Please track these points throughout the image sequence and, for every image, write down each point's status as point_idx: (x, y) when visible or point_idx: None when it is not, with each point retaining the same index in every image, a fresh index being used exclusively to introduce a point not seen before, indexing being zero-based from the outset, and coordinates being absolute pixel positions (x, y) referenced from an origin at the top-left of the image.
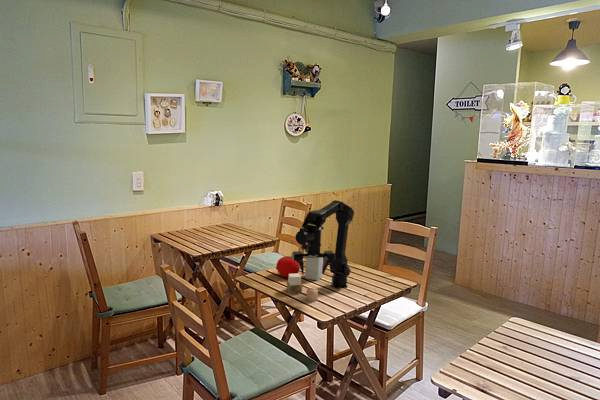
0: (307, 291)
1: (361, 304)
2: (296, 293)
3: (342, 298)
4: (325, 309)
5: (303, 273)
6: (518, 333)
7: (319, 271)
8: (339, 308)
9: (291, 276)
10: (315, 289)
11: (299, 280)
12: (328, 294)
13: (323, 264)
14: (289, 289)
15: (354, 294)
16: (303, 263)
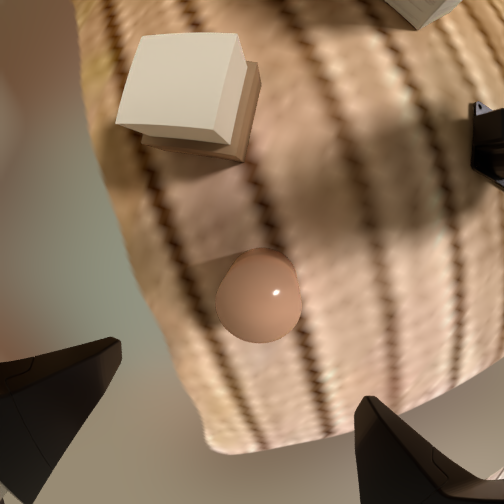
0: (216, 306)
1: (438, 387)
2: (209, 156)
3: (426, 316)
4: (270, 400)
5: (112, 377)
6: (496, 476)
7: (448, 4)
8: (336, 407)
9: (129, 104)
10: (288, 301)
11: (207, 135)
12: (398, 240)
13: (400, 495)
14: (154, 146)
15: (492, 284)
16: (40, 489)
